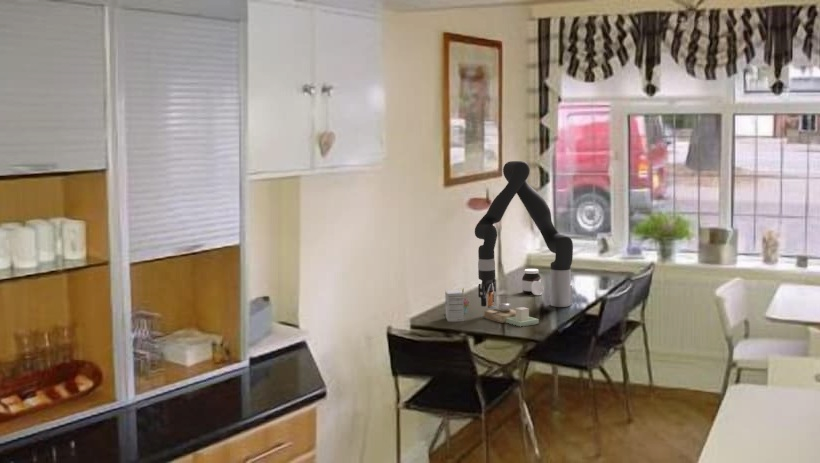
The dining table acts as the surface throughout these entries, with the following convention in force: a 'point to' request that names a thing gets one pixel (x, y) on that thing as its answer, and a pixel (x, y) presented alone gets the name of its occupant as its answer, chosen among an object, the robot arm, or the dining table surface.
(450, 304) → the supplement box
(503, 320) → the plinth
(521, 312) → the block
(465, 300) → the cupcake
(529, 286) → the spread jar
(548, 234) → the robot arm
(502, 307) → the crank
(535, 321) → the tray
